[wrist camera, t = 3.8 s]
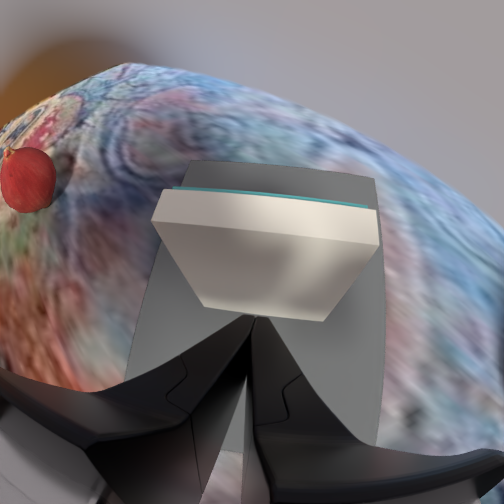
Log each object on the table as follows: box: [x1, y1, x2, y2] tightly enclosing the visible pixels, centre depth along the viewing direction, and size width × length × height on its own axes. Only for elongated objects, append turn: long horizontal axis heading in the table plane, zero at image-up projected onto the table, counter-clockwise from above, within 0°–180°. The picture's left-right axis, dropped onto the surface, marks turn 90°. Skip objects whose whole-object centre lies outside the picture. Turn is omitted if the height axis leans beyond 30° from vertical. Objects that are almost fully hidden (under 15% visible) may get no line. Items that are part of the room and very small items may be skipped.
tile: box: [151, 186, 379, 322], centre depth 12 cm, size 2×7×9 cm, turn 82°
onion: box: [0, 146, 56, 213], centre depth 18 cm, size 6×6×8 cm
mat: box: [124, 160, 386, 453], centre depth 17 cm, size 20×15×1 cm
